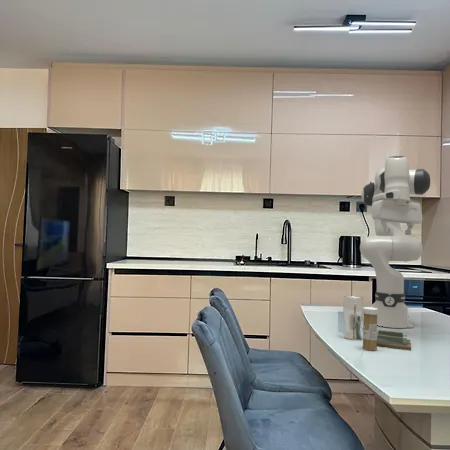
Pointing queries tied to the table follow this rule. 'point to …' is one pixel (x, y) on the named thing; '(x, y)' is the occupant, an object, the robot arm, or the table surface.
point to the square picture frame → (393, 340)
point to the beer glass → (352, 317)
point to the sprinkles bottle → (370, 328)
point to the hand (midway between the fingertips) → (397, 234)
